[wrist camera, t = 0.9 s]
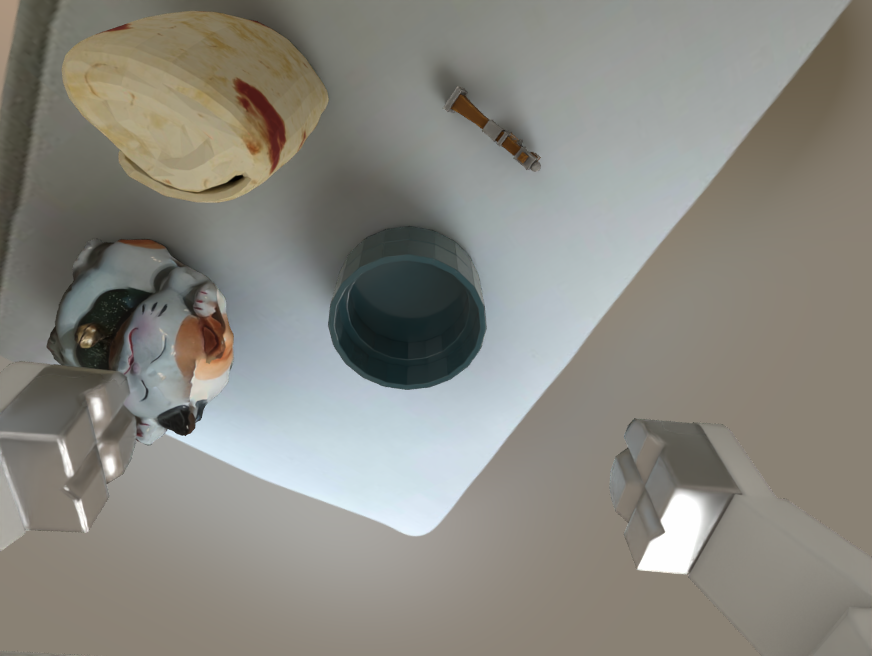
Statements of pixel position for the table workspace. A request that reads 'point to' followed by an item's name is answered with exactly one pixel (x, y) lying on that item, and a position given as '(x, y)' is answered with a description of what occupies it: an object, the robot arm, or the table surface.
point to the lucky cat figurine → (147, 331)
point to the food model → (196, 101)
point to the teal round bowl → (407, 309)
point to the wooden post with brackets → (492, 129)
